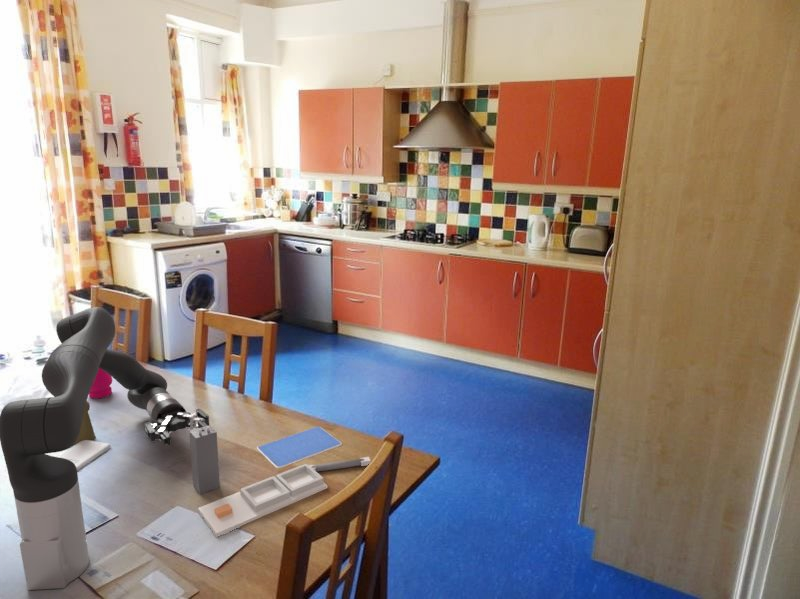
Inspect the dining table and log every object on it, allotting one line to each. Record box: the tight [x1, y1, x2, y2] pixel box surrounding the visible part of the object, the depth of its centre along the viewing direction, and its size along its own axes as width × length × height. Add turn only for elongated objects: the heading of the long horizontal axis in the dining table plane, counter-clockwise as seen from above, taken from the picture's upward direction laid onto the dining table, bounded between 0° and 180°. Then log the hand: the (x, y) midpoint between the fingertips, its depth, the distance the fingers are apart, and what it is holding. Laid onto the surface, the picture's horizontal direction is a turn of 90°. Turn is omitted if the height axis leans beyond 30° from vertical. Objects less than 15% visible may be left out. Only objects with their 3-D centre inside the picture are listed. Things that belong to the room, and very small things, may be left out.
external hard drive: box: [56, 440, 112, 472], centre depth 129 cm, size 2×8×12 cm
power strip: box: [197, 462, 328, 538], centre depth 115 cm, size 26×10×2 cm, turn 131°
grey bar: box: [305, 456, 372, 473], centre depth 128 cm, size 16×2×2 cm, turn 107°
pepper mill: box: [88, 368, 113, 399], centre depth 161 cm, size 7×7×20 cm
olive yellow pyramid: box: [72, 400, 96, 447], centre depth 136 cm, size 6×6×11 cm
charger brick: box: [188, 424, 221, 495], centre depth 118 cm, size 4×5×15 cm
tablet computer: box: [256, 426, 343, 469], centre depth 138 cm, size 19×13×1 cm, turn 130°
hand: (187, 436), depth 126 cm, fingers open, 8 cm apart
